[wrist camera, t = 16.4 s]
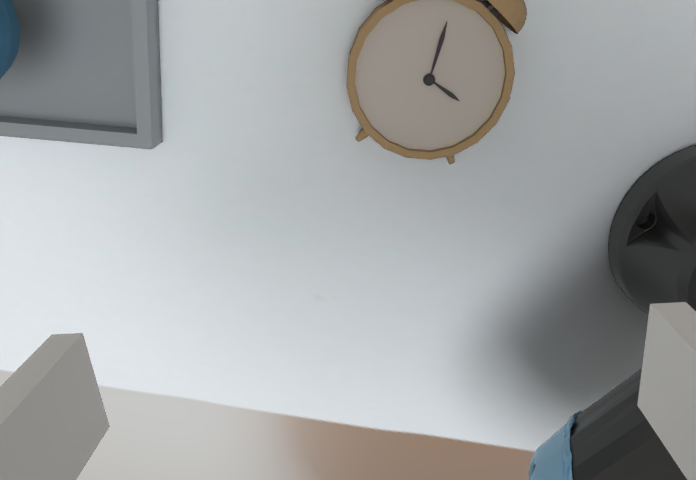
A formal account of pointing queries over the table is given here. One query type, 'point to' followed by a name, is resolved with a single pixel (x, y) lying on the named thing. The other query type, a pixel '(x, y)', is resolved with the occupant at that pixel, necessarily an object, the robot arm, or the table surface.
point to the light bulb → (8, 35)
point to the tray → (85, 73)
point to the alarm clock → (432, 73)
